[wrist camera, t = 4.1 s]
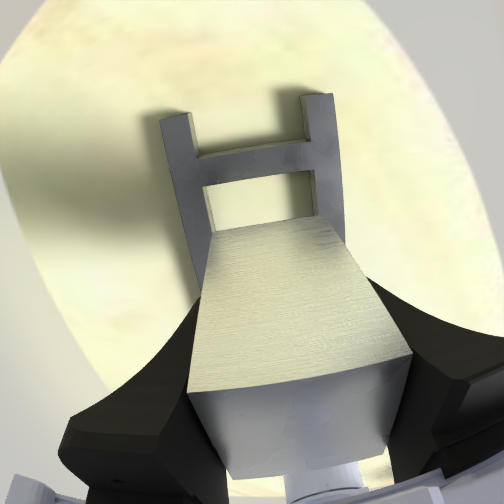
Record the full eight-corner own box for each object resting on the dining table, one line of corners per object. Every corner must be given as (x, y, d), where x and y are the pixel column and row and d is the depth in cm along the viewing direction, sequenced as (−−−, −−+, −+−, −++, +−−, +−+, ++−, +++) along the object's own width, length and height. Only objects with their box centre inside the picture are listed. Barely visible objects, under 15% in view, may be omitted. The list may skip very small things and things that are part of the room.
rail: (339, 375, 26) (343, 387, 25) (235, 391, 26) (236, 405, 25) (325, 93, 16) (332, 93, 15) (165, 118, 16) (159, 120, 15)
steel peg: (328, 305, 15) (382, 454, 8) (233, 320, 15) (232, 480, 8) (323, 214, 13) (413, 353, 6) (212, 231, 13) (186, 392, 6)
